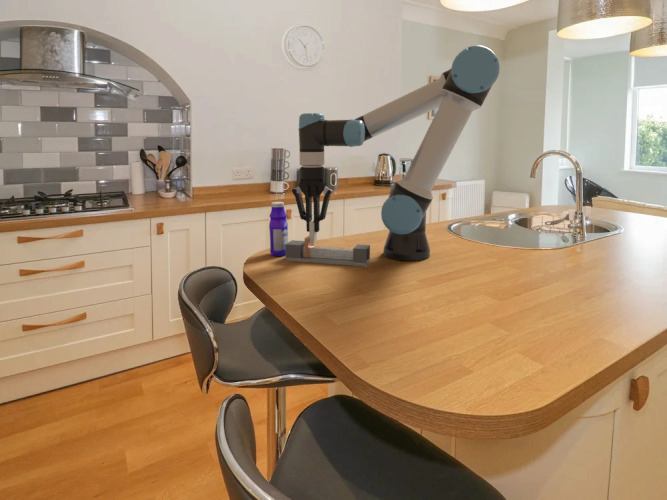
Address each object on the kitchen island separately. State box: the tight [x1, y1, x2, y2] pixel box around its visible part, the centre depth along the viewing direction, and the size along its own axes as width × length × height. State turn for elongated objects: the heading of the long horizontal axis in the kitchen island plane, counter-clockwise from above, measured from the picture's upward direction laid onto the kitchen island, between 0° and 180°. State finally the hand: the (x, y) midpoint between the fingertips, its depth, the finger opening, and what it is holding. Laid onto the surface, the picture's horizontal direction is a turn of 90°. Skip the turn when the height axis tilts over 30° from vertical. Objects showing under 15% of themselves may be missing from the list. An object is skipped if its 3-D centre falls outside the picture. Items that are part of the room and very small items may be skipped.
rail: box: [285, 239, 371, 267], centre depth 148 cm, size 26×6×5 cm, turn 74°
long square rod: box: [301, 235, 353, 260], centre depth 148 cm, size 21×5×6 cm, turn 74°
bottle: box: [268, 201, 289, 257], centre depth 155 cm, size 7×6×17 cm
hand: (313, 241), depth 149 cm, fingers closed
